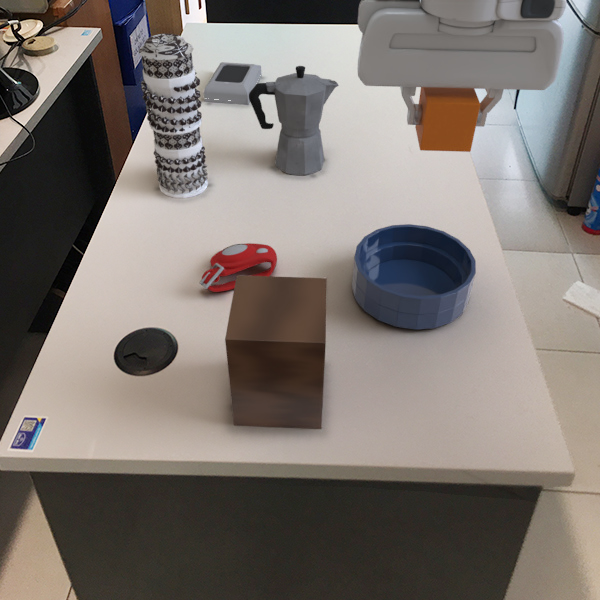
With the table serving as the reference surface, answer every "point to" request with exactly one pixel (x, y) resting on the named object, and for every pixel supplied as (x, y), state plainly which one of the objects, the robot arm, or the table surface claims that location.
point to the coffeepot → (296, 119)
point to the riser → (277, 351)
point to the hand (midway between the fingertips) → (445, 123)
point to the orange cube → (447, 119)
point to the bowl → (413, 276)
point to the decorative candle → (174, 114)
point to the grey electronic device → (232, 83)
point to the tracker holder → (237, 264)
